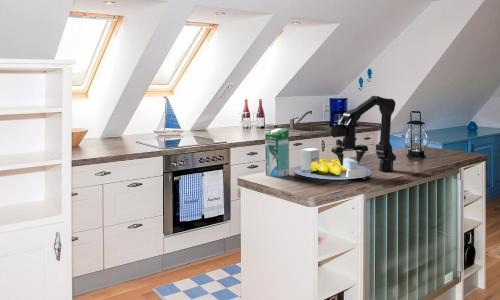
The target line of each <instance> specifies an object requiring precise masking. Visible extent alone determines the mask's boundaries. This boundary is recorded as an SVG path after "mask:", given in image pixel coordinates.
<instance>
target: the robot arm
mask: <svg viewBox="0 0 500 300" xmlns="http://www.w3.org/2000/svg"><path fill="white" fill-rule="evenodd" d="M376 106H378V110H379V113H380V115H381V121H380V123H381V124H380V139H379V142H378V143H376V144H375V151H374V152H375V153H376V156H377V159H378V160H379V168H378V171H381V172H383V173H389V172H390V173H391V172H395V169H394V161H396V159H397V156H396V155H395V154H394V152H393V147H392V144H391V142H390V140H391V123H392V114H394V111H395V108H396V101H395V99H393V98H385V97H382V96H379V95H371V96H370V98H368V99H367V100H365V101H364V102H362V103H360V105H358V106H357V107H354V108H352V109H349V110H347V111H345V112H344V113H343V114H342V116H341V118H340V121H338V123H337V124H336V123H333V125H332V127H331V128H330V135H331V136H332V138H342V140H341V139H336V140H335V145H336V146H332V147H331V153H333V154H334V155H336V157H337V158H338V159H337V160H338V162H339V165H341V166H343V158H344V157H345V155H344V152H350V151H355V154H356V160H355V161H358V165H359V164H360V162H361V160H362V158H363V156H364V154H366V153H367V152H369V147H368V146H367V145H366V144H357V145H356V141H358V140H357V137H356V128H359V127H360V125H359V124H358V123H357V122H358V121H359V120H360V119H361V117H362V115H364V114H365V113H366V112H368V111H369V110H371V109H372V108H374V107H376Z"/></svg>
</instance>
